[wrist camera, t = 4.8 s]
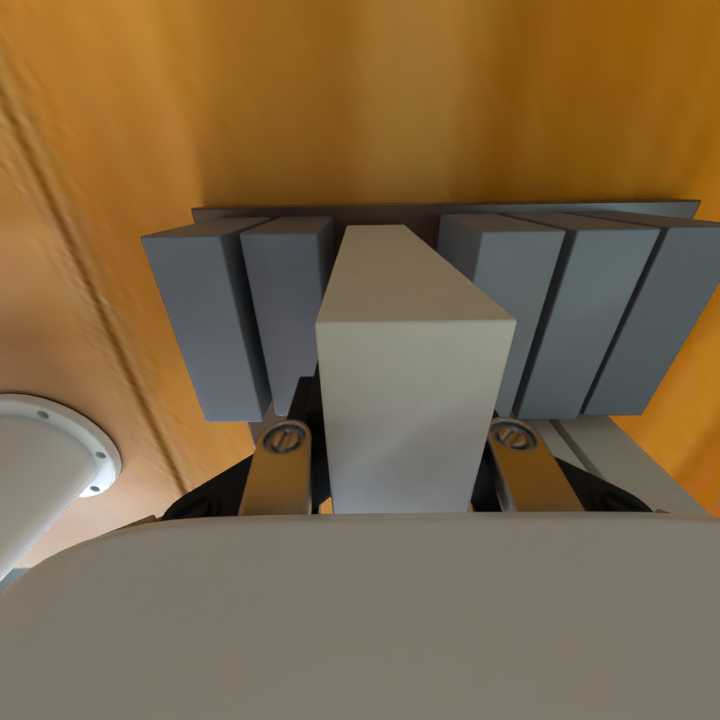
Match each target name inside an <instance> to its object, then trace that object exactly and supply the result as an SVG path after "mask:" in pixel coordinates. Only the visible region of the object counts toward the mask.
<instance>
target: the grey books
mask: <svg viewBox="0 0 720 720" xmlns="http://www.w3.org/2000/svg"><path fill="white" fill-rule="evenodd" d="M141 241H142V244H143V246H144V249H145V252H146V255H147V258H148V260H149V263H150V266H151V269H152V272H153V274H154V277H155V280H156V283H157V286H158V288H159V291H160V294H161V297H162V299H163V302H164V305H165V308H166V311H167V313H168V316H169V319H170V322H171V325H172V327H173V330H174V333H175V336H176V339H177V341H178V344H179V347H180V350H181V353H182V355H183V358H184V361H185V364H186V367H187V369H188V372H189V375H190V378H191V381H192V383H193V386H194V389H195V392H196V395H197V397H198V400H199V403H200V406H201V409H202V411H203V414H204V417H205V420H206V421H207V422H262V421H263V420H264V418H265V415H266V413H267V411H268V408H269V406H270V404H271V402H272V399H273V403H274V408H275V413H276V415H288V412H289V409H290V406H291V403H292V399H293V396H294V393H295V390H296V387H297V383H298V380H299V378H300V377H301V376H314V373H315V369H316V364H317V360H318V353H317V343H316V332H315V323H316V320H317V317H318V314H319V311H320V307H321V304H322V301H323V298H324V295H325V292H326V289H327V286H328V283H329V280H330V277H331V274H332V271H333V267H334V264H335V243H334V225H333V217H332V216H305V217H280V218H277V219H275V220H271V217H239V218H217V219H213V220H208V221H204V222H200V223H196V224H191V225H187V226H183V227H179V228H174V229H170V230H166V231H162V232H158V233H153V234H149V235H145V236H142V237H141ZM437 253H438V254H439V255H440V256H441V257H443V258H444V259H445V260H446V261H447V262H449V263H450V264H451V265H452V266H453V267H454V268H456V269H457V270H458V271H459V272H460V273H462V274H463V275H464V276H465V277H466V278H467V279H469V280H470V281H471V282H472V283H473V284H475V285H476V286H477V287H478V288H479V289H480V290H482V291H483V292H484V293H485V294H486V295H488V296H489V297H490V298H491V299H492V300H493V301H495V302H496V303H497V304H498V305H499V306H501V307H502V308H503V309H504V310H505V311H506V312H508V313H509V314H510V315H511V316H512V317H514V318H515V319H516V322H517V323H516V327H515V331H514V335H513V339H512V343H511V347H510V350H509V354H508V358H507V362H506V366H505V370H504V373H503V377H502V381H501V385H500V389H499V393H498V397H497V400H496V404H495V410H496V412H497V413H498V415H499V417H509V416H510V413H511V410H512V412H513V413H514V415H515V417H516V418H517V419H576V417H577V415H578V413H579V412H580V413H581V414H582V415H642V413H643V412H644V410H645V408H646V406H647V405H648V403H649V401H650V400H651V398H652V396H653V395H654V393H655V391H656V389H657V388H658V386H659V384H660V383H661V381H662V379H663V378H664V376H665V374H666V372H667V371H668V369H669V367H670V366H671V364H672V362H673V361H674V359H675V357H676V355H677V354H678V352H679V350H680V349H681V347H682V345H683V344H684V342H685V340H686V338H687V337H688V335H689V333H690V332H691V330H692V328H693V327H694V325H695V323H696V321H697V320H698V318H699V316H700V315H701V313H702V311H703V310H704V308H705V306H706V304H707V303H708V301H709V299H710V298H711V296H712V294H713V293H714V291H715V289H716V287H717V286H718V284H719V282H720V222H713V221H704V220H695V219H686V218H677V217H668V216H659V215H650V214H641V213H632V212H570V213H568V214H564V213H506V214H504V216H502V215H498V214H442V215H441V217H440V226H439V236H438V245H437Z"/></svg>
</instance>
